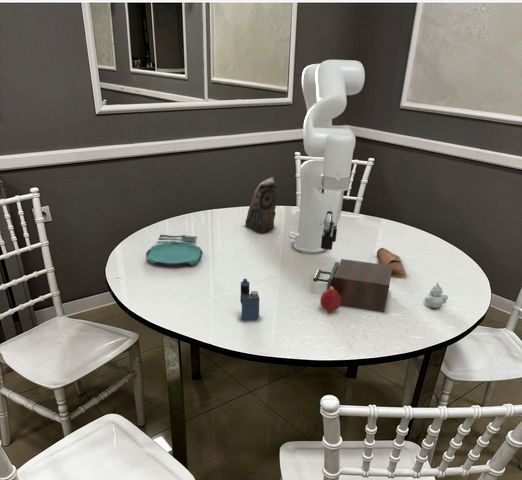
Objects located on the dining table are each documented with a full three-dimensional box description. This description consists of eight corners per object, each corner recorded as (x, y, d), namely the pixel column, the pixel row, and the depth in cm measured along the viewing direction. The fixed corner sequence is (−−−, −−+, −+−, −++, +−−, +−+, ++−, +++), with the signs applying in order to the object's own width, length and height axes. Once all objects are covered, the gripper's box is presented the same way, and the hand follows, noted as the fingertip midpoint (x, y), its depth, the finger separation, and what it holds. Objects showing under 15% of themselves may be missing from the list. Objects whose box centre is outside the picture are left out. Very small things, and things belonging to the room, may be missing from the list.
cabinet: (330, 304, 141) (334, 277, 136) (338, 284, 153) (341, 258, 148) (384, 312, 138) (389, 285, 133) (387, 291, 150) (392, 265, 145)
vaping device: (240, 316, 133) (240, 277, 126) (258, 316, 133) (259, 277, 127) (240, 321, 131) (240, 281, 124) (259, 320, 131) (260, 281, 125)
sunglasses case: (407, 276, 159) (400, 259, 156) (387, 284, 161) (380, 268, 158) (399, 256, 174) (392, 240, 171) (380, 264, 176) (374, 249, 173)
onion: (341, 310, 138) (345, 285, 134) (335, 318, 134) (339, 293, 129) (322, 305, 140) (325, 281, 136) (316, 313, 136) (319, 288, 131)
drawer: (309, 297, 143) (311, 276, 139) (317, 279, 154) (320, 259, 150) (374, 307, 138) (378, 285, 134) (378, 288, 149) (382, 267, 145)
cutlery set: (141, 268, 159) (141, 262, 157) (155, 237, 184) (154, 232, 182) (201, 269, 160) (200, 263, 158) (206, 238, 185) (206, 233, 183)
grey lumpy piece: (421, 301, 144) (427, 277, 140) (442, 302, 144) (449, 278, 140) (426, 310, 140) (432, 285, 135) (448, 311, 140) (455, 286, 135)
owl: (272, 223, 203) (274, 175, 192) (283, 232, 193) (286, 182, 182) (244, 225, 199) (245, 176, 188) (254, 235, 189) (255, 184, 178)
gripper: (327, 174, 138) (320, 234, 147) (316, 188, 124) (310, 253, 133) (352, 176, 136) (344, 237, 146) (344, 191, 122) (336, 257, 132)
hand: (328, 244), depth 139 cm, fingers open, 6 cm apart
